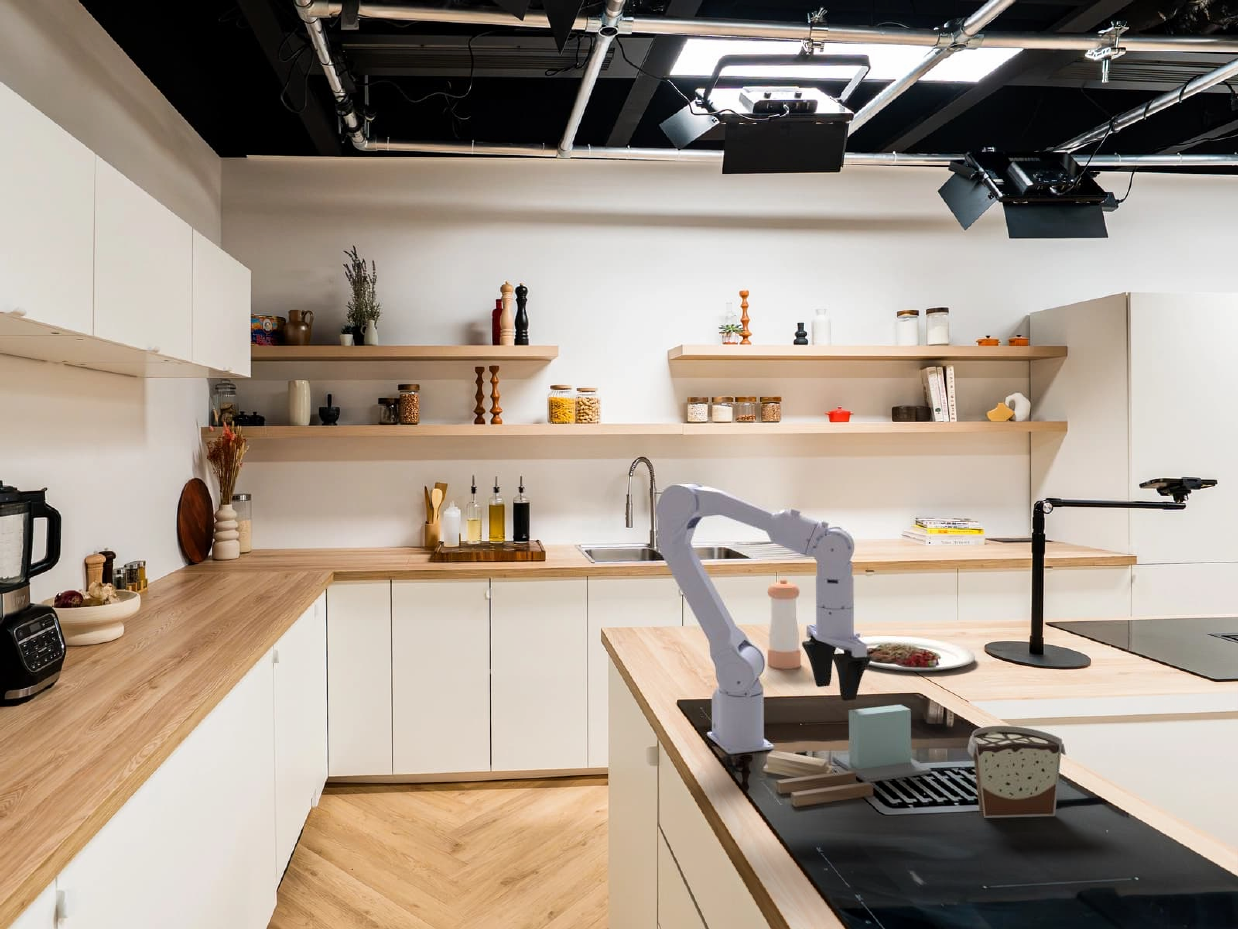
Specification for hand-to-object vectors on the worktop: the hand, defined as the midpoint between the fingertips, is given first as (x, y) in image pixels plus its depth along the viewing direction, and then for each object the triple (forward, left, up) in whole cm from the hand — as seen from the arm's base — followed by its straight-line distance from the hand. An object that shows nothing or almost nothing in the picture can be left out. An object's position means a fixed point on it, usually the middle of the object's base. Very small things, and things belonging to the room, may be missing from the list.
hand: (835, 692), depth 127 cm
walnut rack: (+12, -9, -10) cm, 18 cm away
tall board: (+6, +4, -9) cm, 12 cm away
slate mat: (+6, +4, -10) cm, 12 cm away
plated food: (-49, +47, -10) cm, 69 cm away
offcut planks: (+5, -9, -10) cm, 14 cm away
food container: (+23, +12, -10) cm, 28 cm away
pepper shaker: (-52, +18, -10) cm, 56 cm away
